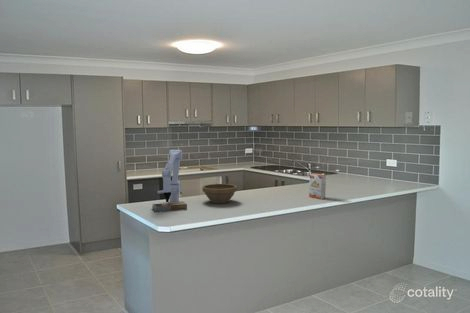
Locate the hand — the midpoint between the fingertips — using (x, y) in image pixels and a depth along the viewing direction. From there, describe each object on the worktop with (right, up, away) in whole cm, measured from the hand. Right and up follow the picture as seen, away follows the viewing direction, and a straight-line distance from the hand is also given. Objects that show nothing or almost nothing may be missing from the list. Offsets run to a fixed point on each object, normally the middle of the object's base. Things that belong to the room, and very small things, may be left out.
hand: (167, 202), depth 320 cm
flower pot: (+40, -3, +25) cm, 47 cm away
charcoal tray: (-3, -5, -4) cm, 8 cm away
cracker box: (+125, -1, +42) cm, 131 cm away
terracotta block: (-1, -3, -6) cm, 7 cm away
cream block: (0, -2, 0) cm, 2 cm away
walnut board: (+8, -5, 0) cm, 9 cm away
